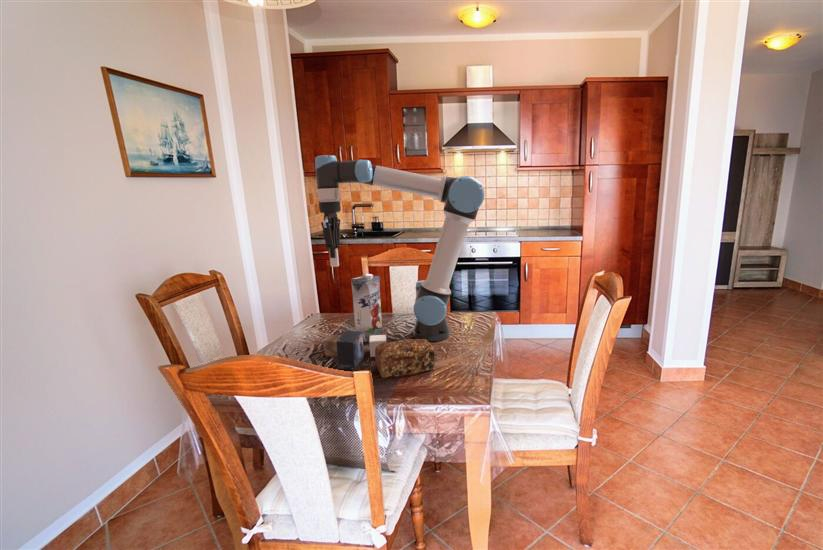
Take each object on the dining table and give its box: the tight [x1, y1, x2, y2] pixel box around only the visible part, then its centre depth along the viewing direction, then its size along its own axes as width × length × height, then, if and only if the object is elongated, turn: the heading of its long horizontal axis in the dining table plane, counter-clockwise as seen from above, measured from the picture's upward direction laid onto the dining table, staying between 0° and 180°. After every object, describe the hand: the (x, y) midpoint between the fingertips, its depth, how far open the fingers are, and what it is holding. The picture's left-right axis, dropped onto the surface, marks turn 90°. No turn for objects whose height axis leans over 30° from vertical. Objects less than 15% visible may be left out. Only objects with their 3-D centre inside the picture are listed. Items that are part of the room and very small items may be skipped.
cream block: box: [368, 334, 387, 358], centre depth 146 cm, size 6×6×6 cm
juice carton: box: [350, 273, 383, 344], centre depth 158 cm, size 9×10×27 cm
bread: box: [375, 338, 436, 379], centre depth 132 cm, size 19×11×10 cm, turn 106°
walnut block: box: [323, 334, 342, 358], centre depth 147 cm, size 6×6×6 cm
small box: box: [336, 330, 365, 371], centre depth 137 cm, size 11×6×10 cm, turn 169°
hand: (334, 266), depth 144 cm, fingers closed
